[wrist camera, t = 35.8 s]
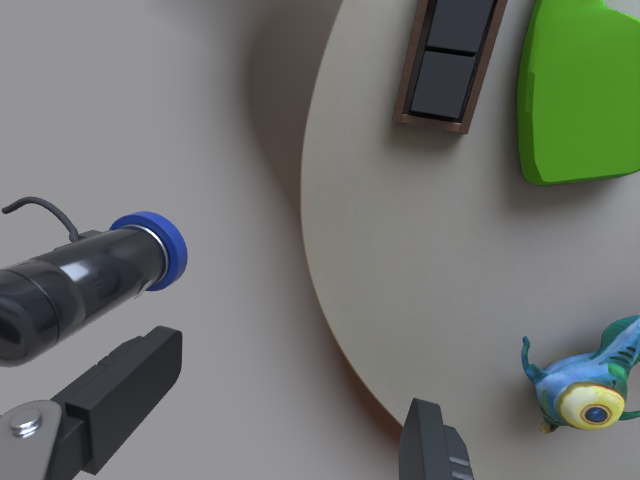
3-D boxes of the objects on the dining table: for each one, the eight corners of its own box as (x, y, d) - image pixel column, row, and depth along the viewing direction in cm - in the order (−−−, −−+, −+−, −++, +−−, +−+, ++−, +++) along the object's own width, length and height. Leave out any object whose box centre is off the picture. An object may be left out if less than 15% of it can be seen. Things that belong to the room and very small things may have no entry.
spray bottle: (511, 185, 33) (512, -112, 27) (640, 170, 31) (674, -161, 25) (522, 189, 31) (526, -141, 24) (665, 173, 28) (710, -200, 22)
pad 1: (423, 52, 31) (426, 45, 29) (438, -9, 30) (442, -22, 27) (470, 59, 31) (477, 52, 28) (488, -3, 29) (497, -16, 27)
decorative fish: (649, 396, 37) (695, 442, 31) (530, 413, 41) (553, 457, 35) (629, 296, 34) (675, 328, 29) (504, 323, 38) (523, 356, 32)
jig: (391, 121, 34) (392, 121, 32) (425, -27, 30) (427, -37, 28) (463, 134, 33) (467, 133, 31) (508, -18, 29) (515, -28, 27)
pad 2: (409, 112, 33) (410, 110, 31) (422, 57, 32) (425, 50, 29) (453, 119, 33) (458, 118, 30) (469, 64, 31) (476, 57, 29)
